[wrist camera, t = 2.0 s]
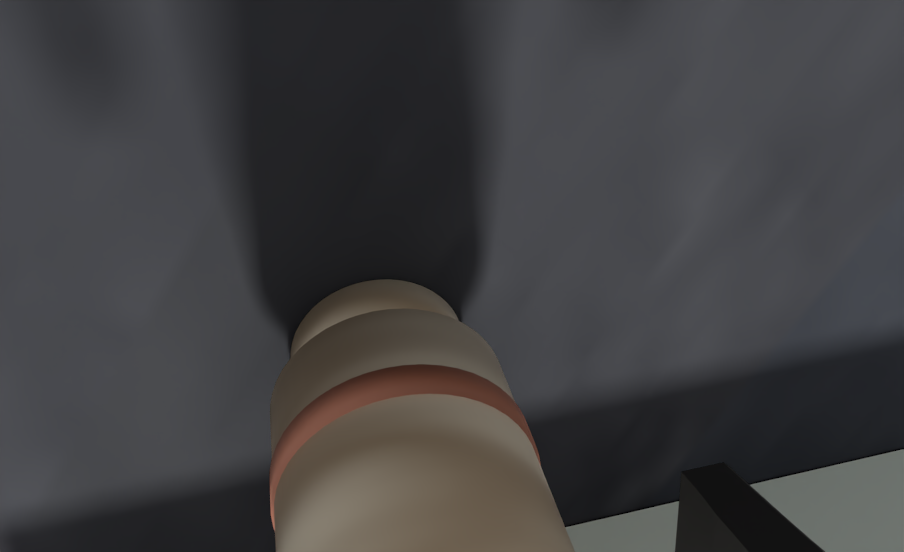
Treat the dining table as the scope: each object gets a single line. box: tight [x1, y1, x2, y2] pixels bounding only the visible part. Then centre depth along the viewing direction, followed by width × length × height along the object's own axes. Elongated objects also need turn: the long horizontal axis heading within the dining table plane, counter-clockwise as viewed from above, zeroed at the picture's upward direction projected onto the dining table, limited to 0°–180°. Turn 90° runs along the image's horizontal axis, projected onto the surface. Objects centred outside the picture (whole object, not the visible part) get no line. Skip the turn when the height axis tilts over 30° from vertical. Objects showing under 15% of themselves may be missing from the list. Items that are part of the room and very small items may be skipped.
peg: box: [269, 279, 575, 552], centre depth 13 cm, size 4×4×8 cm
